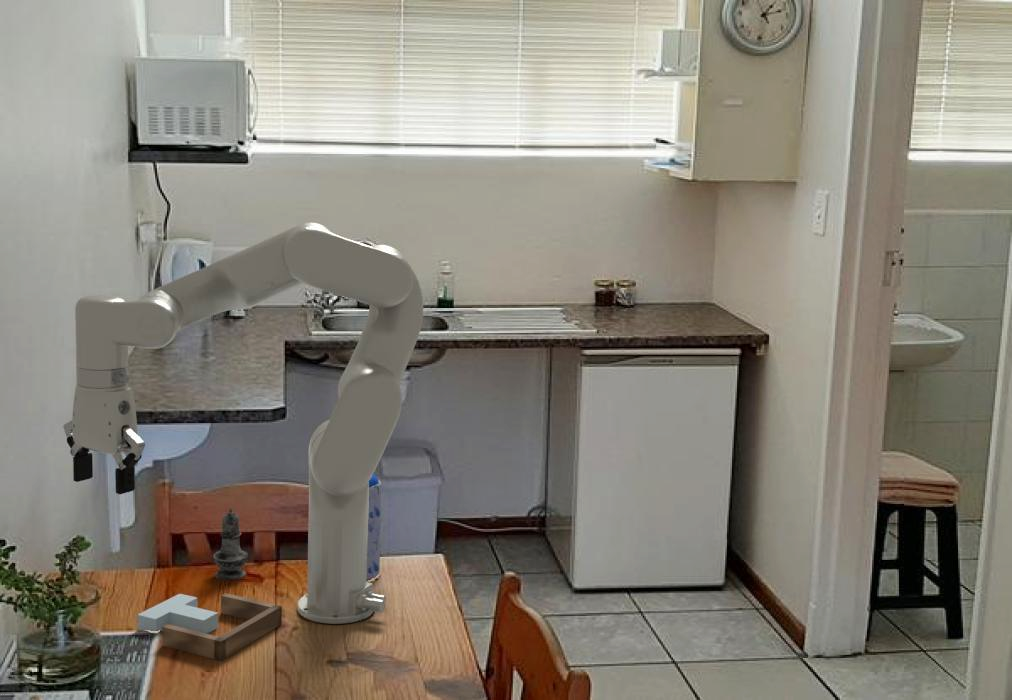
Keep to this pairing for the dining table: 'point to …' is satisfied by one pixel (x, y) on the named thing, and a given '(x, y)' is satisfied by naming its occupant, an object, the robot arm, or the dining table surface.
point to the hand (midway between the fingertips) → (104, 485)
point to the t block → (178, 615)
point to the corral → (219, 648)
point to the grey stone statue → (230, 550)
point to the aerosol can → (374, 528)
